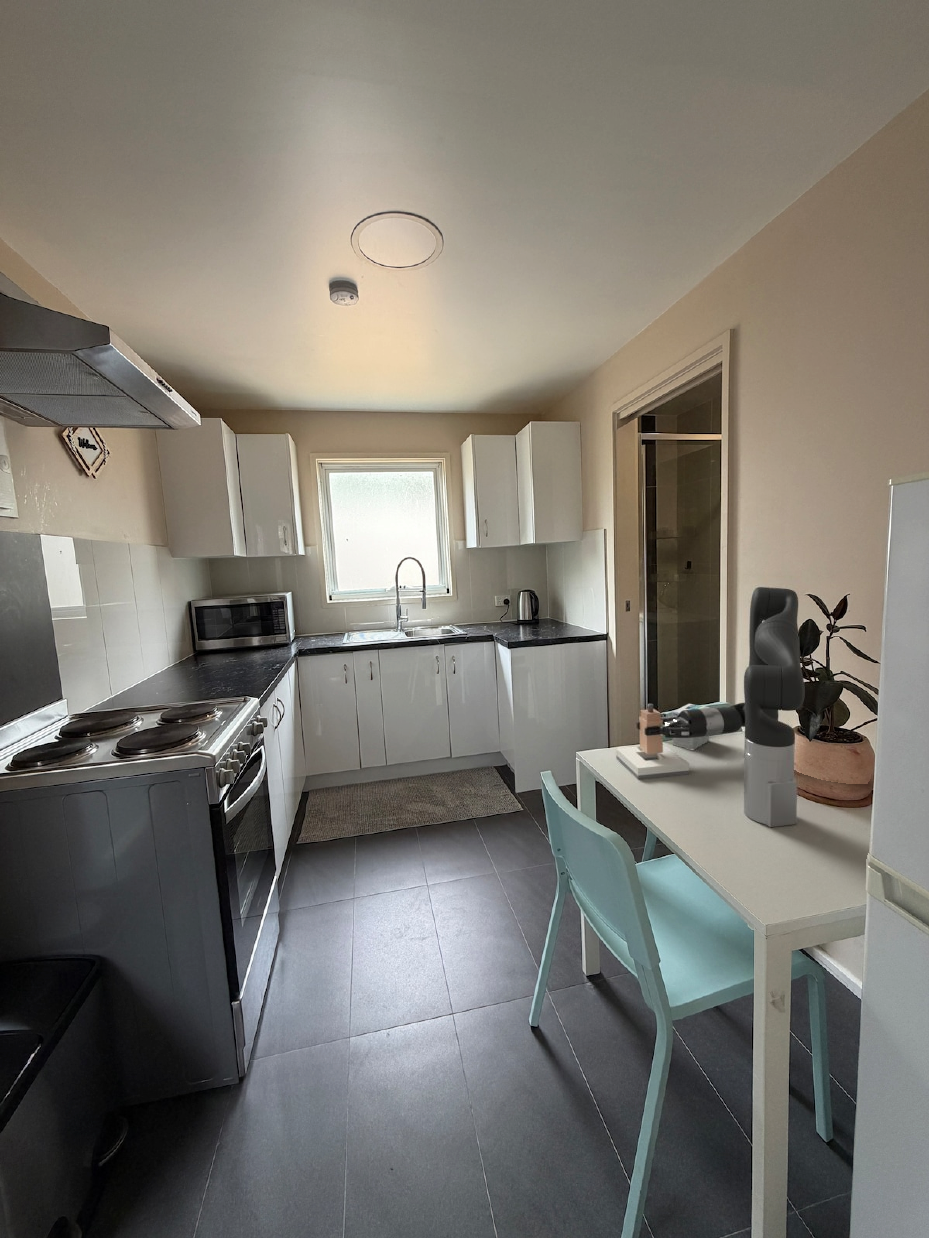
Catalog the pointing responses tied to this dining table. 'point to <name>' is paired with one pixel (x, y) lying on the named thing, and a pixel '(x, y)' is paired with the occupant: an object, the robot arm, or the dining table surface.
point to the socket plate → (652, 762)
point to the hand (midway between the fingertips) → (641, 728)
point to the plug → (651, 742)
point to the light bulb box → (689, 742)
